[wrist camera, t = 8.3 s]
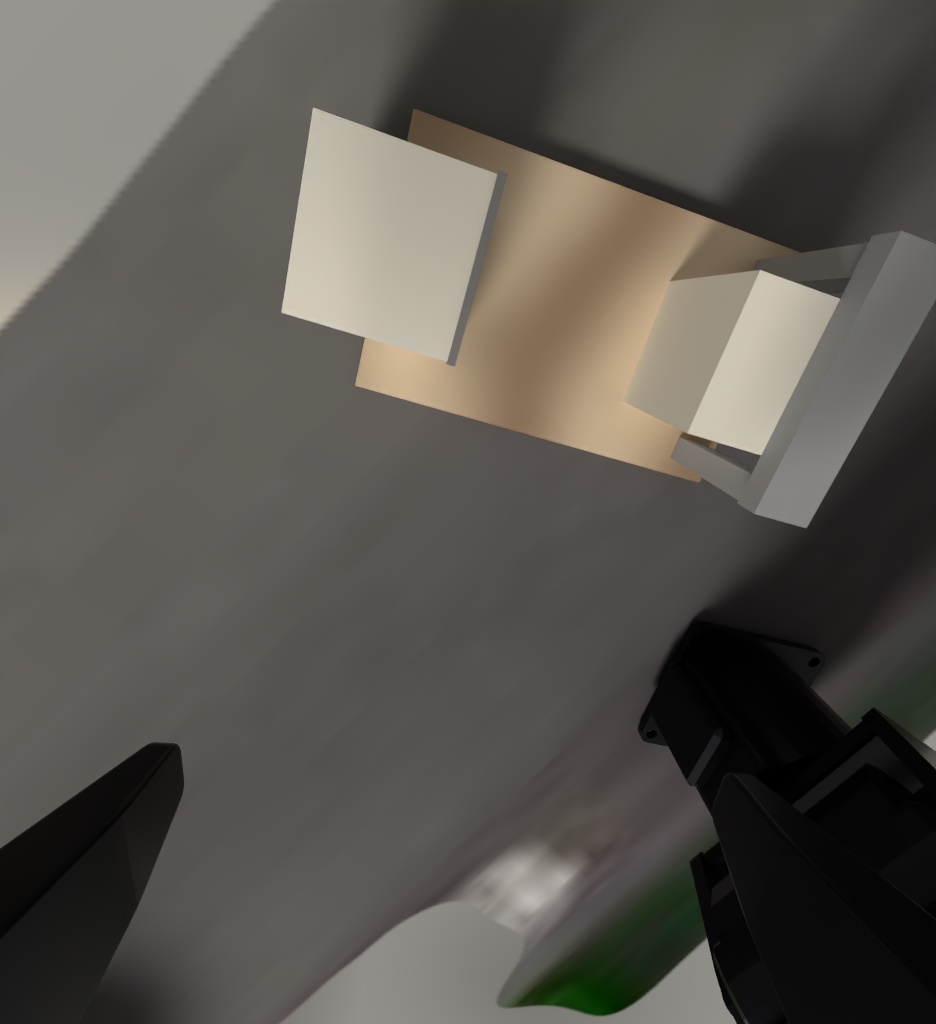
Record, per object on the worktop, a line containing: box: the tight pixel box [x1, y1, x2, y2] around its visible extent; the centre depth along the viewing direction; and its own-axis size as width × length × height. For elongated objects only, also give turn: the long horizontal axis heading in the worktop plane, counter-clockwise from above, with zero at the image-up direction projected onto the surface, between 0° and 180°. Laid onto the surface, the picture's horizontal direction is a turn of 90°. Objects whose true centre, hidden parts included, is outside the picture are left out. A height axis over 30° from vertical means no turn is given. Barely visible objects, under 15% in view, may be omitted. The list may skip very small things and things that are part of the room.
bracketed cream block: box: [622, 231, 936, 528], centre depth 15 cm, size 4×7×6 cm, turn 164°
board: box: [355, 109, 800, 483], centre depth 17 cm, size 13×8×1 cm, turn 74°
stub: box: [282, 108, 508, 367], centre depth 14 cm, size 4×4×5 cm
